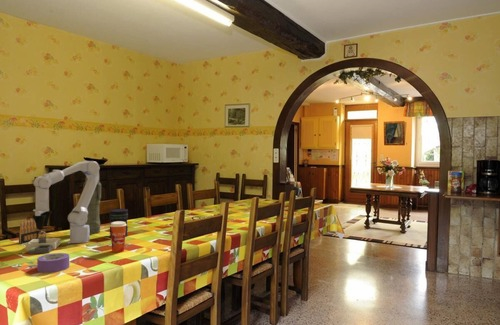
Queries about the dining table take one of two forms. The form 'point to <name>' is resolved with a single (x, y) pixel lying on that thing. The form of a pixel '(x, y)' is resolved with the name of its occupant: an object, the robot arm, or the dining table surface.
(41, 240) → the battery cell
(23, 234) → the ammunition clip
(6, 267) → the dining table surface
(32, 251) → the checker cradle
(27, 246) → the trough tray
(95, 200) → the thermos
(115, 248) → the paper cup
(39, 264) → the tape roll
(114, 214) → the storage jar
